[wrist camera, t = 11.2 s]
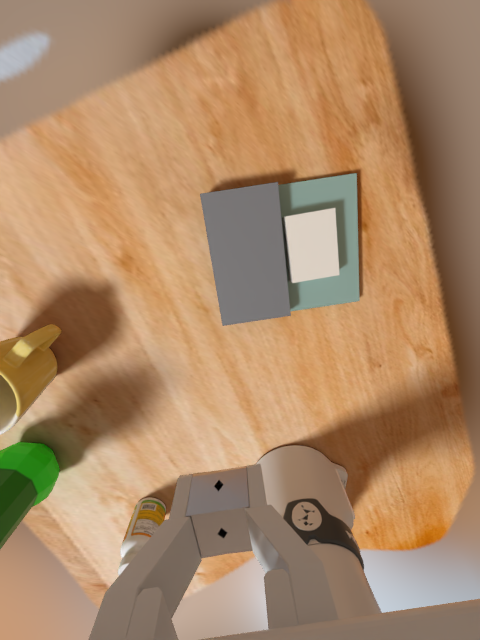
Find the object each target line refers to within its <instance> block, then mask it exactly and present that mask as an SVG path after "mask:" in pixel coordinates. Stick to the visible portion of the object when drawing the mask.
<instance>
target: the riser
mask: <svg viewBox="0 0 480 640" xmlns="http://www.w3.org/2000/svg"><path fill="white" fill-rule="evenodd" d="M200 197H201V202H202V208H203V214H204V220H205V226H206V232H207V237H208V243H209V249H210V255H211V261H212V266H213V272H214V278H215V284H216V290H217V296H218V301H219V307H220V313H221V319H222V325H223V326H224V325H231V324H238V323H244V322H251V321H258V320H264V319H271V318H278V317H284V316H291V314H290V303H289V293H288V282H287V272H286V262H285V251H284V241H283V230H282V220H281V210H280V199H279V189H278V182H275V183H268V184H262V185H255V186H249V187H242V188H236V189H229V190H222V191H216V192H209V193H203V194H200Z"/></svg>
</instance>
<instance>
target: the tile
mask: <svg viewBox="0 0 480 640" xmlns="http://www.w3.org/2000/svg"><path fill="white" fill-rule="evenodd" d="M282 223H283V232H284V240H285V249H286V257H287V266H288V275H289V281H290V282H292V283H296V282H302V281H308V280H314V279H319V278H325V277H331V276H337V275H339V259H338V243H337V227H336V212H335V208H331V209H325V210H320V211H314V212H308V213H303V214H297V215H291V216H286V217H283V218H282Z"/></svg>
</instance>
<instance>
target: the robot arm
mask: <svg viewBox="0 0 480 640" xmlns="http://www.w3.org/2000/svg"><path fill="white" fill-rule="evenodd" d="M347 478H348V474H347V472H346V469H345V468H344V467H342V466H340V465H337V464H335V463H332V462H331V461H330V460H328V459H327V458H326V457H325V456H324V455H323V454H322V453H321V452H319V451H317V450H315V449H313V448H310V447H306V446H299V445H292V446H285V447H281V448H278V449H275V450H273V451H271V452H269V453H267V454H266V455H264V456H263V457H262V458H261V459H260V460H259V461H258V462H257V463H256V464H255V465H249V466H243V467H237V468H231V469H224V470H219V471H211V472H203V473H195V474H189V475H180V476H179V478H178V480H177V485H176V489H175V494H174V498H173V503H172V507H171V512H170V516H169V519H168V520H164V521H163V523H162V524H161V525H160V526H159V528H158V529H157V530H156V531H155V532H154V534H153V535H152V536H151V537H150V539H149V540H148V541H147V542H146V544H145V545H144V546H143V547H142V548H141V550H140V551H139V552H138V553H137V555H136V556H135V557H134V558H133V559H132V561H131V562H130V563H129V564H128V566H127V567H126V568H125V569H124V571H123V572H122V573H121V574H120V575H119V577H118V578H117V579H116V580H115V582H114V583H113V584H112V585H111V586H110V588H109V589H108V590H107V591H106V593H105V595H104V598H103V601H102V604H101V606H100V609H99V612H98V615H97V618H96V621H95V623H94V626H93V629H92V632H91V634H90V637H89V640H178V638H177V635H176V632H175V629H174V626H173V623H172V620H171V618H172V617H173V615H174V613H175V611H176V609H177V607H178V605H179V603H180V601H181V599H182V597H183V595H184V593H185V591H186V590H187V588H188V586H189V584H190V582H191V580H192V578H193V576H194V574H195V572H196V570H197V568H198V566H199V564H200V562H201V558H206V557H211V556H217V555H222V554H228V553H237V552H246V551H253V553H254V555H255V556H256V558H257V560H258V561H259V563H260V565H261V566H262V568H263V569H264V571H265V573H266V575H265V577H264V582H265V594H266V604H267V615H268V628H269V630H262V631H255V632H248V633H241V634H234V635H227V636H220V637H214V638H207V639H200V640H480V599H476V600H469V601H462V602H455V603H448V604H442V605H434V606H427V607H421V608H413V609H407V610H400V611H393V612H386V613H382V612H381V610H380V608H379V606H378V604H377V602H376V599H375V597H374V595H373V592H372V590H371V588H370V586H369V583H368V581H367V578H366V576H365V573H364V564H363V560H362V557H361V555H360V550H359V547H358V545H357V542H356V540H355V539H354V537H353V534H352V532H351V529H352V527H353V520H354V519H355V515H354V511H353V509H352V506H351V504H350V501H349V499H348V496H347V494H346V491H345V488H346V483H347Z"/></svg>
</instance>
